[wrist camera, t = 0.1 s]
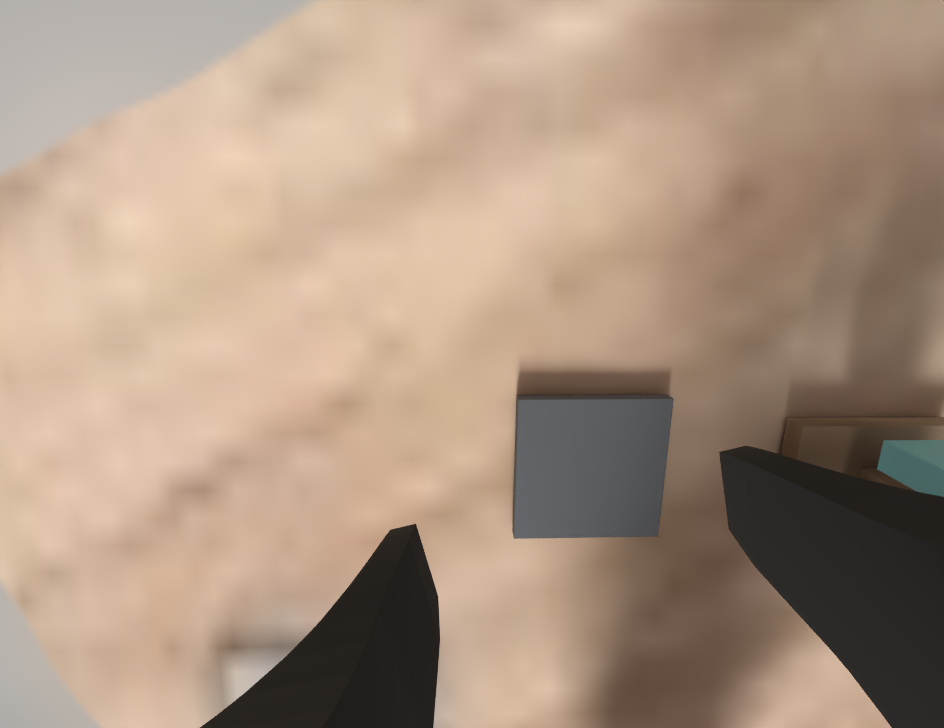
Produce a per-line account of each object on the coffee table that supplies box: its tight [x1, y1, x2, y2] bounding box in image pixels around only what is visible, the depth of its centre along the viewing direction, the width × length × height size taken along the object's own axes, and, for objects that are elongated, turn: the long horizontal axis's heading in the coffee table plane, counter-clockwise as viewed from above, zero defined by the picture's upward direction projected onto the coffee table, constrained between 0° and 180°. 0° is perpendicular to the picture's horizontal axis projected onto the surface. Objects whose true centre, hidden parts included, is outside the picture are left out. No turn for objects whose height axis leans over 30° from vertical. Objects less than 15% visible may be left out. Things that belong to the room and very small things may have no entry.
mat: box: [512, 395, 674, 538], centre depth 22 cm, size 6×6×1 cm
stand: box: [781, 417, 944, 491], centre depth 20 cm, size 5×7×7 cm
